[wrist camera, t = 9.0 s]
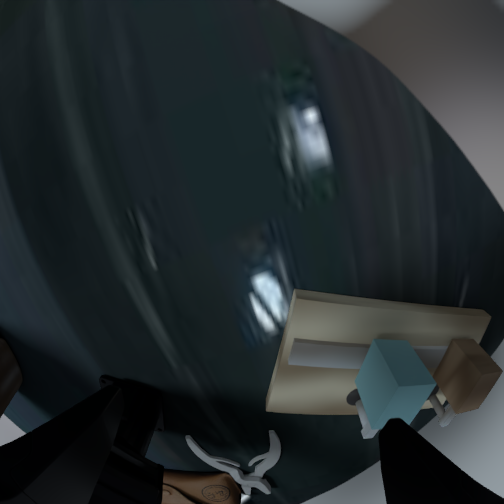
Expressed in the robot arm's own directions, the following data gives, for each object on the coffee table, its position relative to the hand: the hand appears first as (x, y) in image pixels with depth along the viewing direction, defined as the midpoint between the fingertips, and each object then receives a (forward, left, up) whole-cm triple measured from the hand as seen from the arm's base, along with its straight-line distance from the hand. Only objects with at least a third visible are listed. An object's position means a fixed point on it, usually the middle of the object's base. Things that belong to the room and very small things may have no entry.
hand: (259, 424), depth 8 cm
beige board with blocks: (-6, -12, -12) cm, 18 cm away
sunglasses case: (-33, +7, -12) cm, 36 cm away
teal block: (-6, -10, -10) cm, 15 cm away
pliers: (-25, -2, -13) cm, 28 cm away
